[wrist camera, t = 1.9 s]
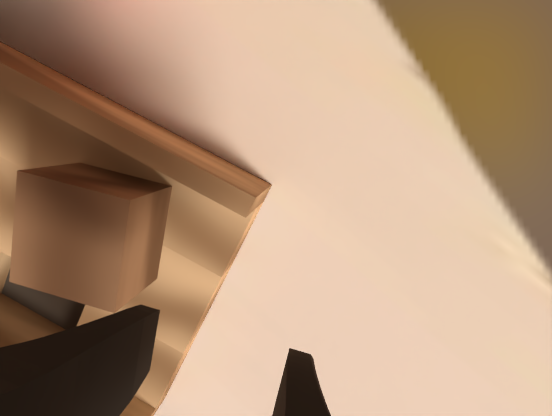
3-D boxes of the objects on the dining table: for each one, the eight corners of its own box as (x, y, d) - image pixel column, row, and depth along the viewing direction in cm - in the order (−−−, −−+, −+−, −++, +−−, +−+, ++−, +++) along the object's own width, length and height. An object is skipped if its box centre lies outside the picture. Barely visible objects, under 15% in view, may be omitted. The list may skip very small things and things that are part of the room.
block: (172, 186, 19) (130, 200, 16) (157, 278, 21) (114, 313, 17) (80, 162, 20) (17, 170, 16) (70, 253, 21) (9, 281, 17)
